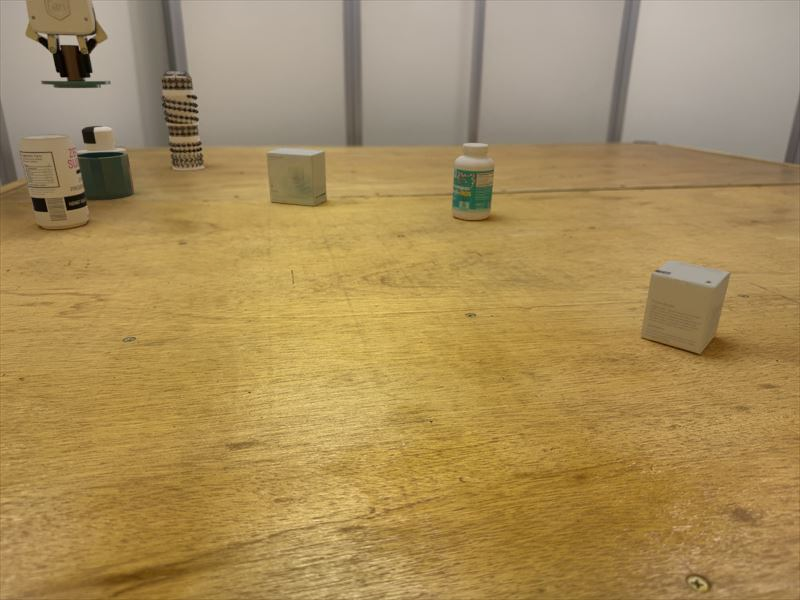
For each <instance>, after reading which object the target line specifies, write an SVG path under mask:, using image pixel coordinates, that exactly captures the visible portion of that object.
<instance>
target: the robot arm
mask: <svg viewBox="0 0 800 600" xmlns="http://www.w3.org/2000/svg"><path fill="white" fill-rule="evenodd" d="M25 3H26V10H27V15H28V16H27V17H28V24H27V27H26V30H25V36H26V37H27V38H29V39H31V40H32V41H35V42H37V43H39V44H40V45H41V46H43V47H44V48H45V50H48V51H49V53H51V54H52V58H53V59H52V60H53V63H54V68H55V72H56V73H57V74H59V77H60V78H62V79H63V78H64V79H65V78H66V79H67V77H66V72H65V67H64V62H63V57H62V53H61V48H60V45H61V41H60V36H74V37H75V36H76V37H75V38H76V40H77V43H78V44H77V45H78V46H79V49H80V54H79V55H78V57H79V62H80V67H81V72H82V77H84V78H85V79H90V78H91V74H93V71H94V70H93V66H92V60H91V54H92V52H93V51H94V50H95V48H96V47H97V46H98V45H99V44H101V43H103V42H105V41H107V40H108V38H109V37H108V34H107V33H106V32H105V30H104V29H103V27H102V26H101V24H100V23H99V22H98V20H97V16H96V11H95V7H94V3H93V0H25ZM41 34H45V35H46V37H45V36H43V35H41ZM91 36H93V37H91ZM88 37H90V38H88Z"/></svg>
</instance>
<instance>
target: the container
mask: <svg viewBox="0 0 800 600" xmlns="http://www.w3.org/2000/svg"><path fill="white" fill-rule="evenodd" d="M81 135H82V141H83V146H84V147H85V148H86V149H81V150H76V153H77V154H81V153H89V152H125V153H127V149H126V148H123V147H115V146H116V139H115V133H114V129H113V128H112V127H110V126H106V125H105V126H104V125H93V126H92V125H91V126H86V127H84V128H82V129H81Z"/></svg>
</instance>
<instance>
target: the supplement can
mask: <svg viewBox="0 0 800 600" xmlns="http://www.w3.org/2000/svg"><path fill="white" fill-rule="evenodd" d="M17 150H18V153H19V157H20V161H21V165H22V170H23V173H24V177H25V182H26V185H27V190H28V195H29V198H30V202H31V206H32V210H33V214H34V218H35V223H36V225H38V226H39V227H40V226H41V228H43V229H46V230H63V229H64V230H66V229H71V228H77V227H81V226H83V225H86V224H87V223H88V220H89V219H90V218H91V216H90V211H89V206H88V202H87V201H88V200H87V199H86V196H85V191H84V187H83V182H82V177H81V172H80V167H79V163H78V158H77V153H76V152H77V149H76V145H75V143H74V142H73V141H72V138H70V136H69V135H68V134H66V133H65V134H62V133H44V134H43V133H42V134H28V135H27V134H26V135H21V136H19V142H18V145H17Z"/></svg>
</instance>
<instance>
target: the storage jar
mask: <svg viewBox="0 0 800 600" xmlns="http://www.w3.org/2000/svg"><path fill="white" fill-rule="evenodd" d="M77 158H78V163H79V167H80V172H81V177H82V182H83V187H84V191H85V196H86V200H94V201H95V200H99V201H100V200H101V201H102V200H114V199H120V198H121V199H122V198H126V197H129V196H132V195H134V194H135V188H134V181H133V175H132V170H131V165H130V158H129V153H127V152H126V153H125V152H89V153H81V154H77Z"/></svg>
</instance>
